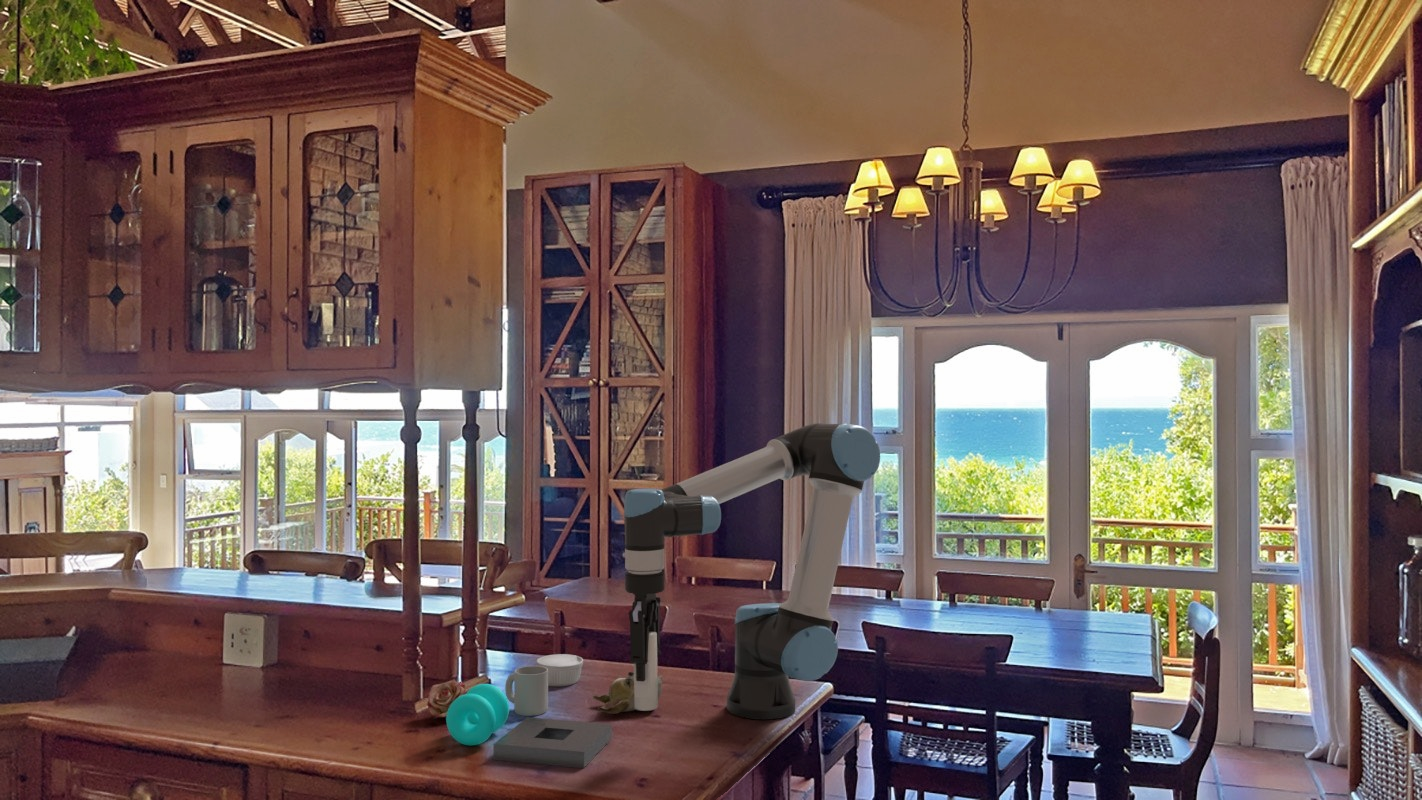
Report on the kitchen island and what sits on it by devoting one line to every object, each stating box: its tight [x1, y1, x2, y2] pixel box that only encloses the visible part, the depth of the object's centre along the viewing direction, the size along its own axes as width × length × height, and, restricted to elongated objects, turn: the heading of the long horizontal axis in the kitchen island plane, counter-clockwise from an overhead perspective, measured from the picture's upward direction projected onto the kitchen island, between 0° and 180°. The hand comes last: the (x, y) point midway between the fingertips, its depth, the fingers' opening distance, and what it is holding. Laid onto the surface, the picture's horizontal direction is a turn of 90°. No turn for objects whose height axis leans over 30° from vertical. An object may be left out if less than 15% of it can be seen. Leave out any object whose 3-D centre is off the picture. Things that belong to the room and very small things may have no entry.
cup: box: [504, 665, 549, 717], centre depth 211 cm, size 7×10×9 cm
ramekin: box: [535, 653, 584, 687], centre depth 234 cm, size 11×11×5 cm
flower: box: [426, 678, 467, 720], centre depth 206 cm, size 9×9×7 cm
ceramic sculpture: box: [592, 671, 663, 715], centre depth 212 cm, size 11×9×15 cm
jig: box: [492, 716, 613, 769], centre depth 188 cm, size 18×16×3 cm
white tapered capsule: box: [633, 631, 659, 712], centre depth 184 cm, size 4×4×14 cm
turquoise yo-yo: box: [445, 683, 510, 746], centre depth 193 cm, size 10×10×10 cm
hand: (646, 692), depth 184 cm, fingers closed on white tapered capsule, 4 cm apart
